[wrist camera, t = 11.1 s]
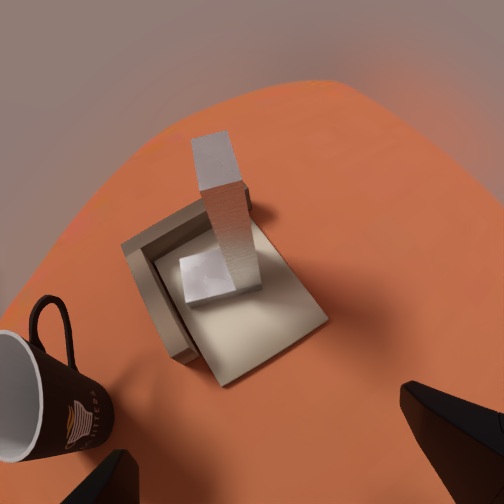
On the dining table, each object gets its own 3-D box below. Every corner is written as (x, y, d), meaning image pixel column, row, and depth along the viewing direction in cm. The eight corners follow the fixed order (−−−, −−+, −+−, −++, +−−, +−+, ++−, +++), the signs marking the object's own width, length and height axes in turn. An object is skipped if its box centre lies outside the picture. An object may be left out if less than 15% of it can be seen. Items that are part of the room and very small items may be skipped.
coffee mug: (93, 478, 18) (8, 488, 9) (36, 411, 21) (-45, 390, 12) (166, 382, 22) (97, 354, 13) (98, 321, 25) (27, 270, 16)
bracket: (262, 289, 25) (242, 179, 14) (190, 308, 25) (119, 215, 14) (251, 247, 27) (226, 130, 16) (183, 265, 27) (122, 160, 16)
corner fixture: (335, 314, 23) (341, 300, 21) (202, 398, 21) (190, 395, 19) (243, 199, 30) (239, 178, 27) (134, 261, 28) (120, 244, 25)
